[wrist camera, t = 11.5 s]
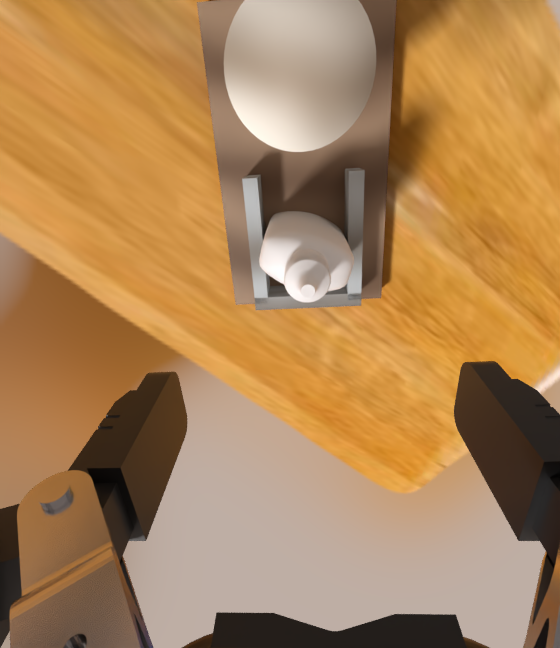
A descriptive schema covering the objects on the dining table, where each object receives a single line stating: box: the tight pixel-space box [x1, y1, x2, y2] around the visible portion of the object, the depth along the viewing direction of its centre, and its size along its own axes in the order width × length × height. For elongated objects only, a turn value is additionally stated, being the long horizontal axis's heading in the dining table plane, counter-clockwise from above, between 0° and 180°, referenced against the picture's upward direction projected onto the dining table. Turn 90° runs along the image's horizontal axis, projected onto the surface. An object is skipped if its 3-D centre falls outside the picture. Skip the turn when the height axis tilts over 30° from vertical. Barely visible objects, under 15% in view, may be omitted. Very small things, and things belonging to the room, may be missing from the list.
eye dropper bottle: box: [259, 211, 354, 303], centre depth 24 cm, size 4×6×12 cm
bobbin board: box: [197, 0, 397, 310], centre depth 24 cm, size 20×12×10 cm, turn 4°
